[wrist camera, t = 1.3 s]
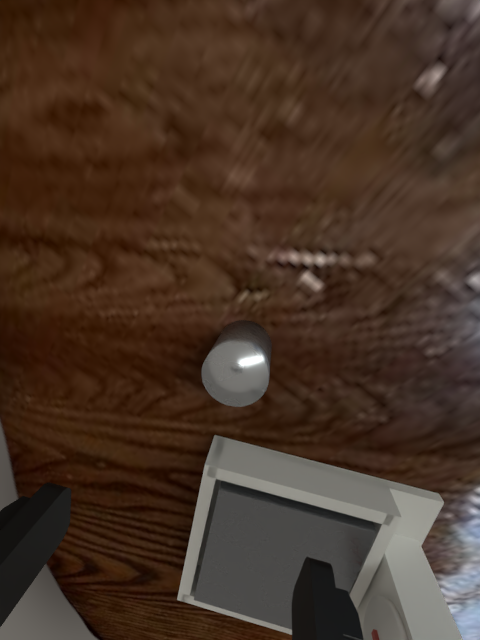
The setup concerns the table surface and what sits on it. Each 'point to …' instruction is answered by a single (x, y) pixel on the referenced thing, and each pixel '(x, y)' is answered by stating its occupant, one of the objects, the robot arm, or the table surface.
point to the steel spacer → (238, 364)
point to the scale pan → (274, 551)
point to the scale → (348, 498)
